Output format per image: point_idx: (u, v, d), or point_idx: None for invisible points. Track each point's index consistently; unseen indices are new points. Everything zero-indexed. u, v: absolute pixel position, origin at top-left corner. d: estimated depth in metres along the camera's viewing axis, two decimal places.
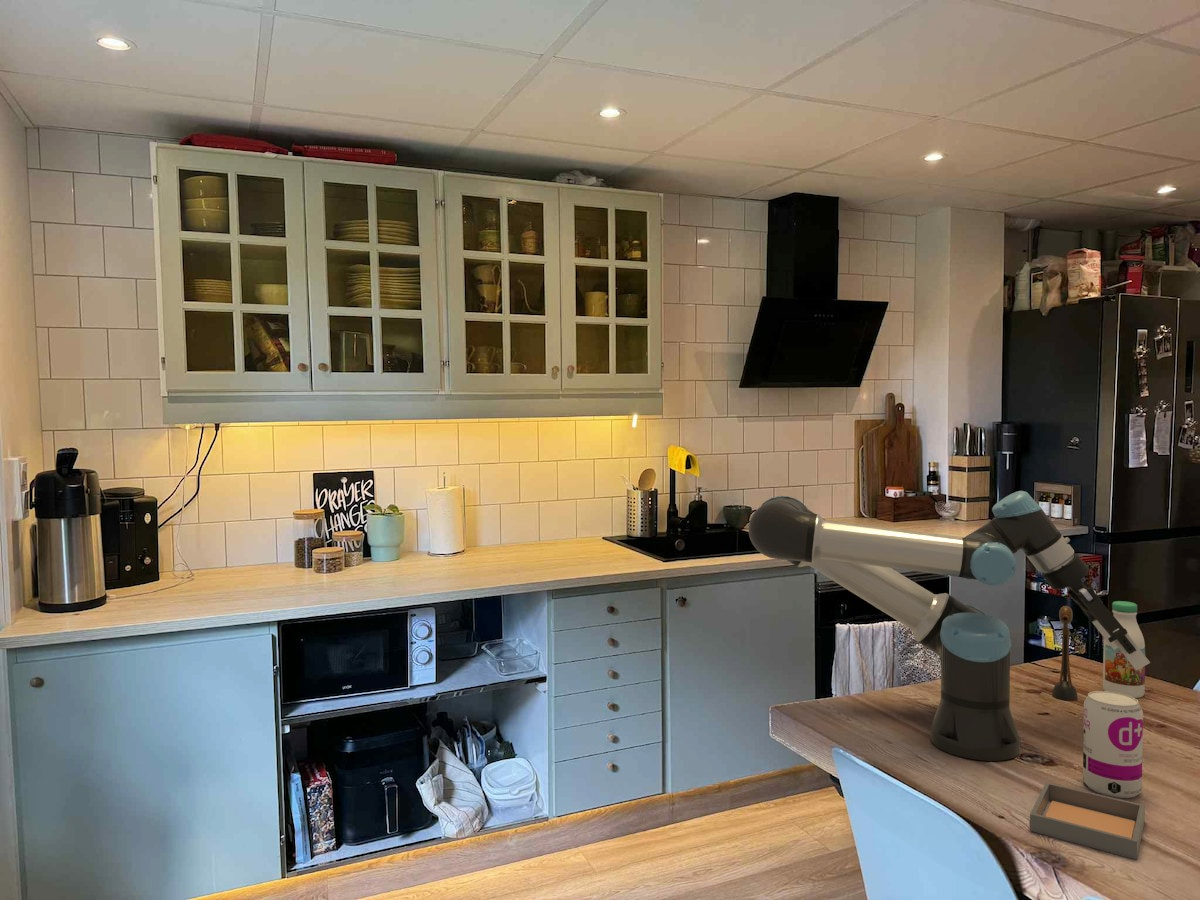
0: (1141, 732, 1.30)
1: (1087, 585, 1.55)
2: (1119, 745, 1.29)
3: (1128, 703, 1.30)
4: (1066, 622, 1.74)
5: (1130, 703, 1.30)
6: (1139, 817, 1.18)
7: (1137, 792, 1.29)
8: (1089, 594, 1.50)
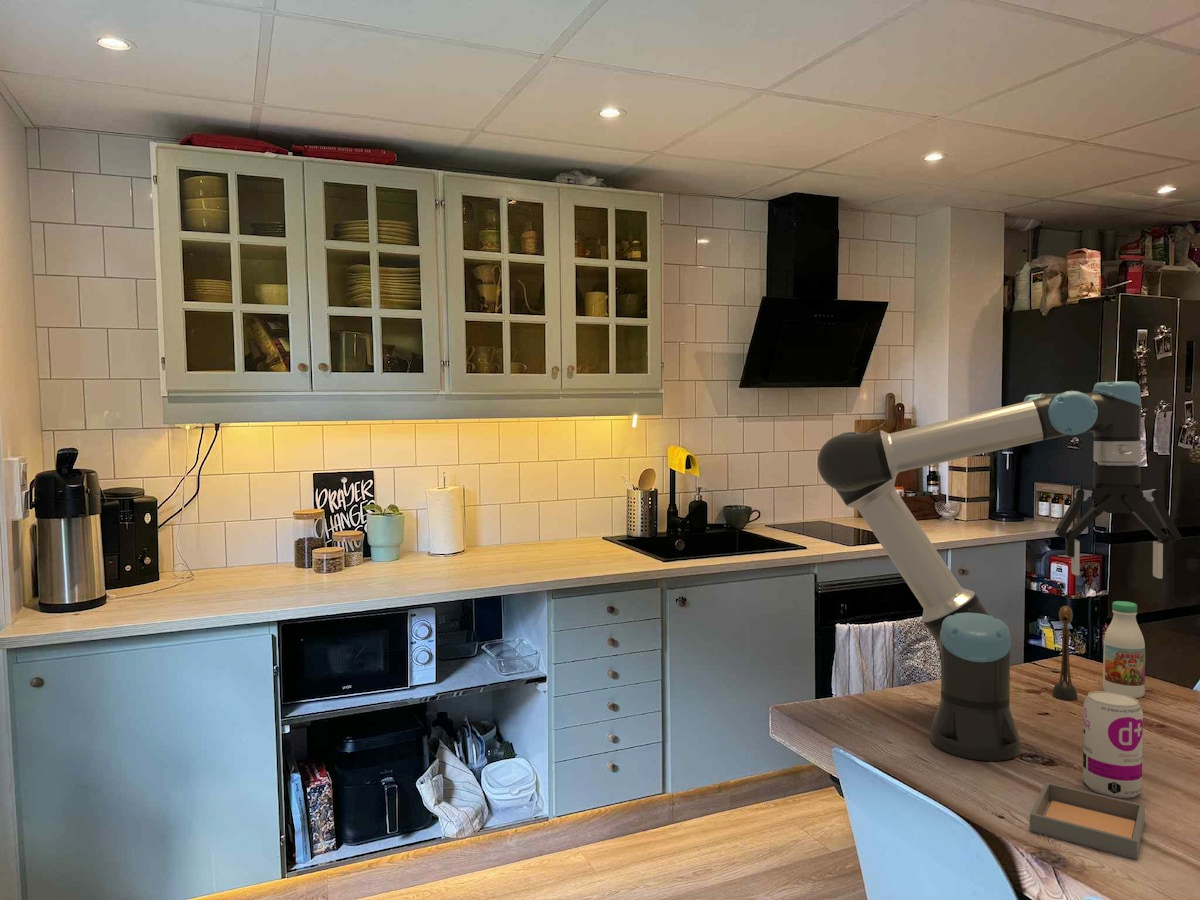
0: (1141, 732, 1.30)
1: (1110, 495, 1.52)
2: (1119, 745, 1.29)
3: (1128, 703, 1.30)
4: (1066, 622, 1.74)
5: (1130, 703, 1.30)
6: (1139, 817, 1.18)
7: (1137, 792, 1.29)
8: (1075, 494, 1.55)
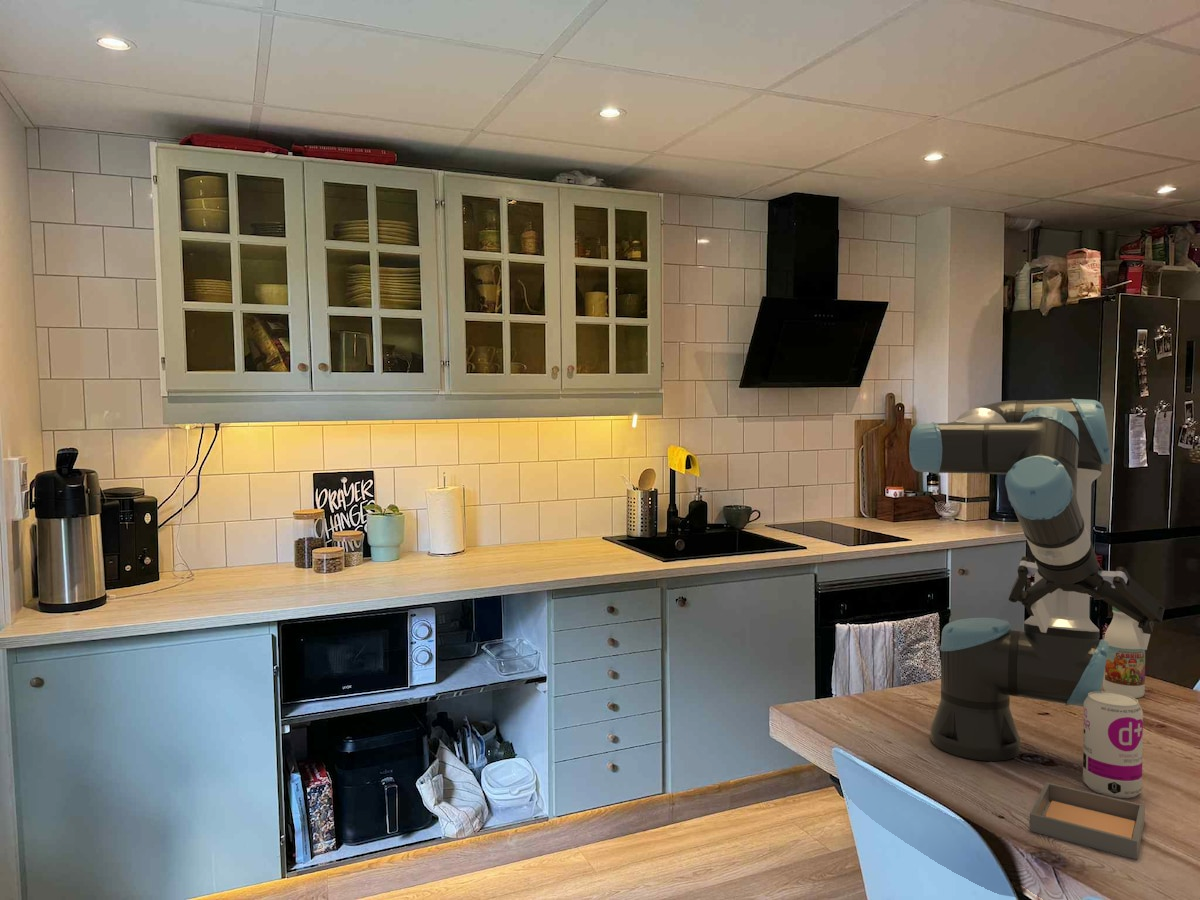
0: (1141, 732, 1.30)
1: None
2: (1119, 745, 1.29)
3: (1128, 703, 1.30)
4: None
5: (1130, 703, 1.30)
6: (1139, 817, 1.18)
7: (1137, 792, 1.29)
8: None
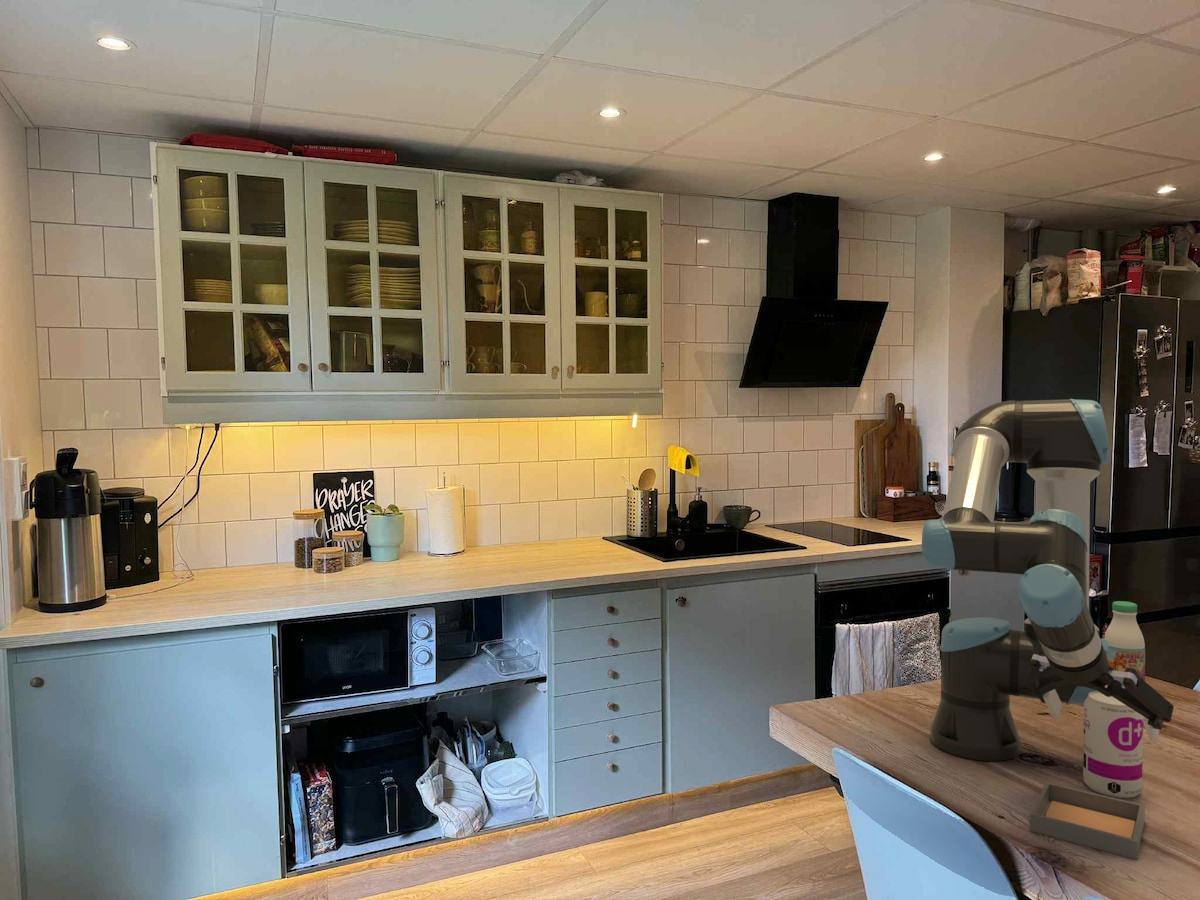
0: (1142, 732, 1.30)
1: None
2: (1119, 745, 1.29)
3: None
4: None
5: None
6: (1139, 817, 1.18)
7: (1137, 792, 1.29)
8: None
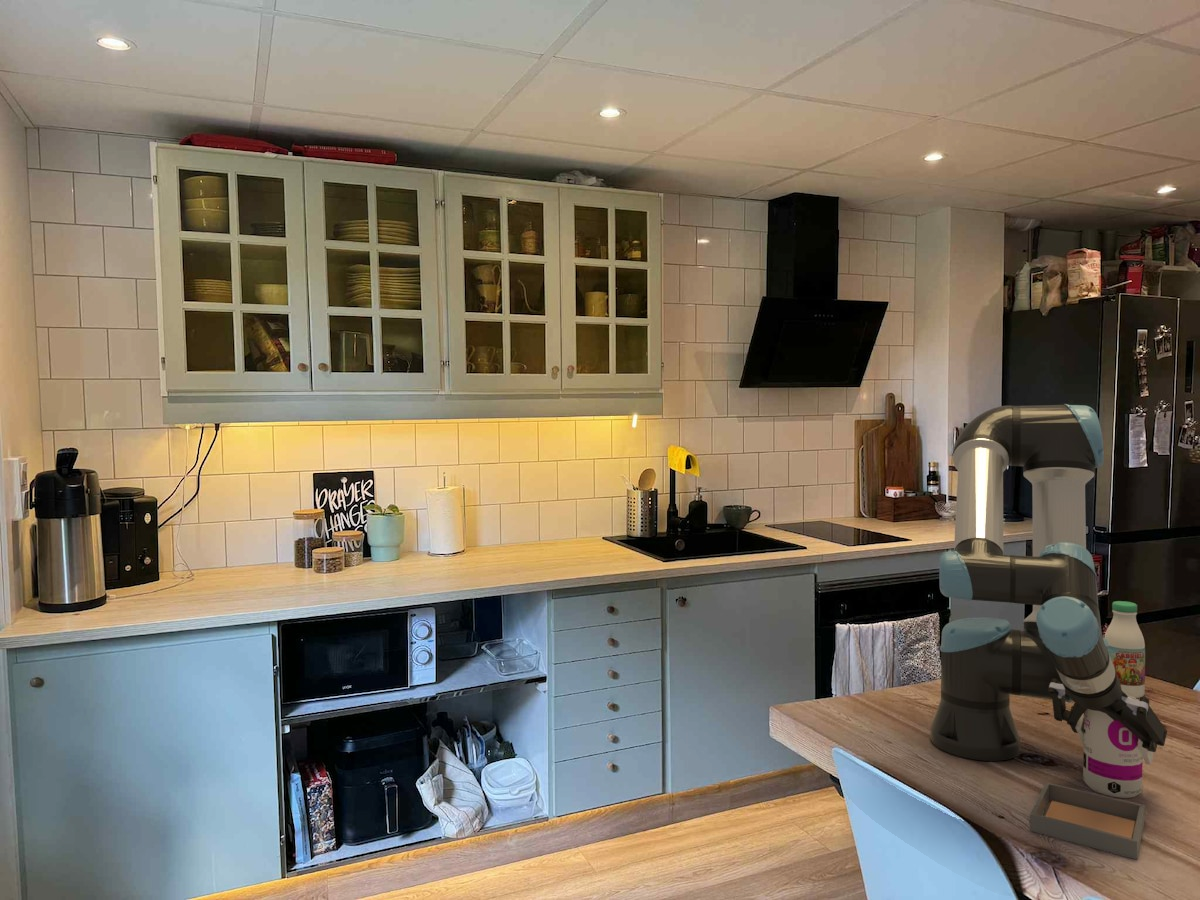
0: None
1: None
2: (1119, 745, 1.29)
3: None
4: None
5: None
6: (1139, 817, 1.18)
7: (1137, 792, 1.29)
8: None
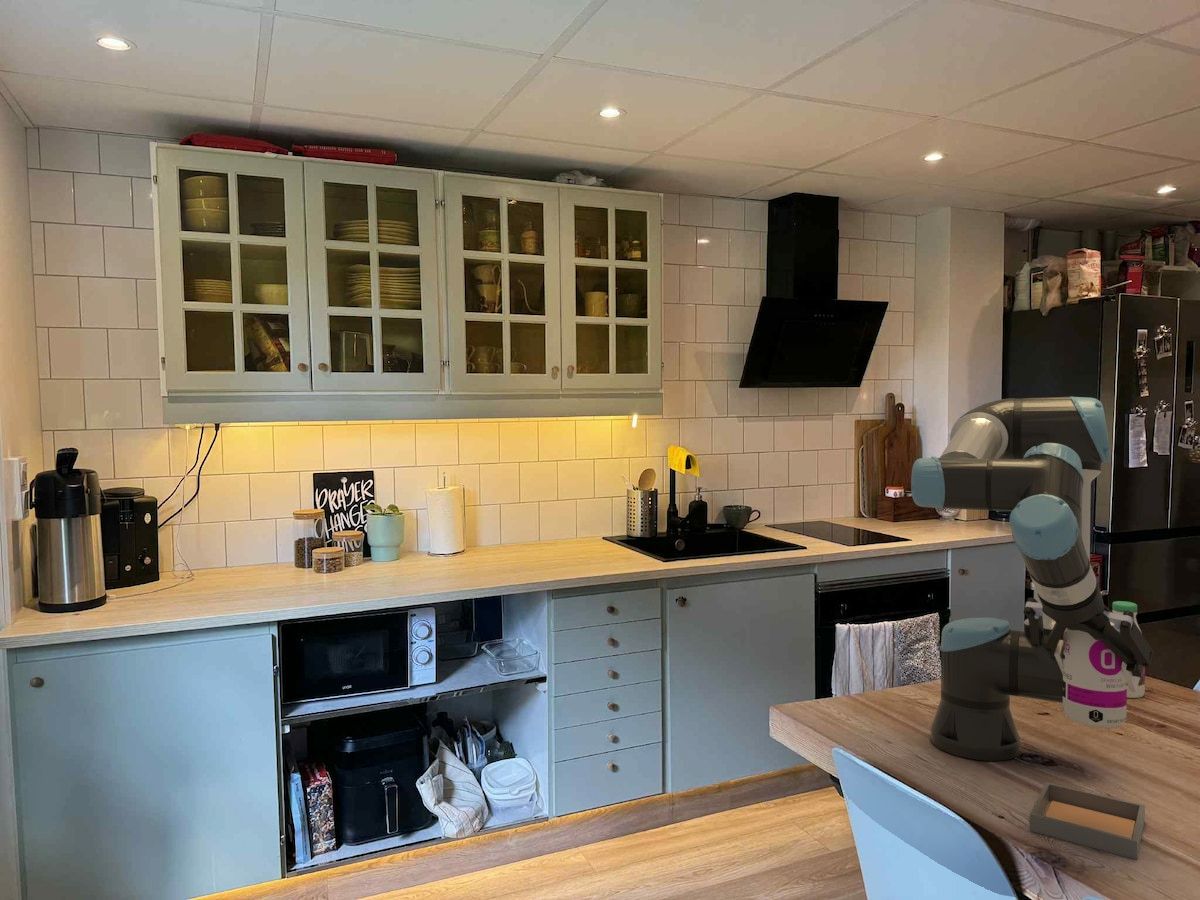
0: None
1: None
2: (1101, 669, 1.17)
3: (1111, 624, 1.19)
4: None
5: None
6: (1139, 817, 1.18)
7: (1121, 721, 1.18)
8: None
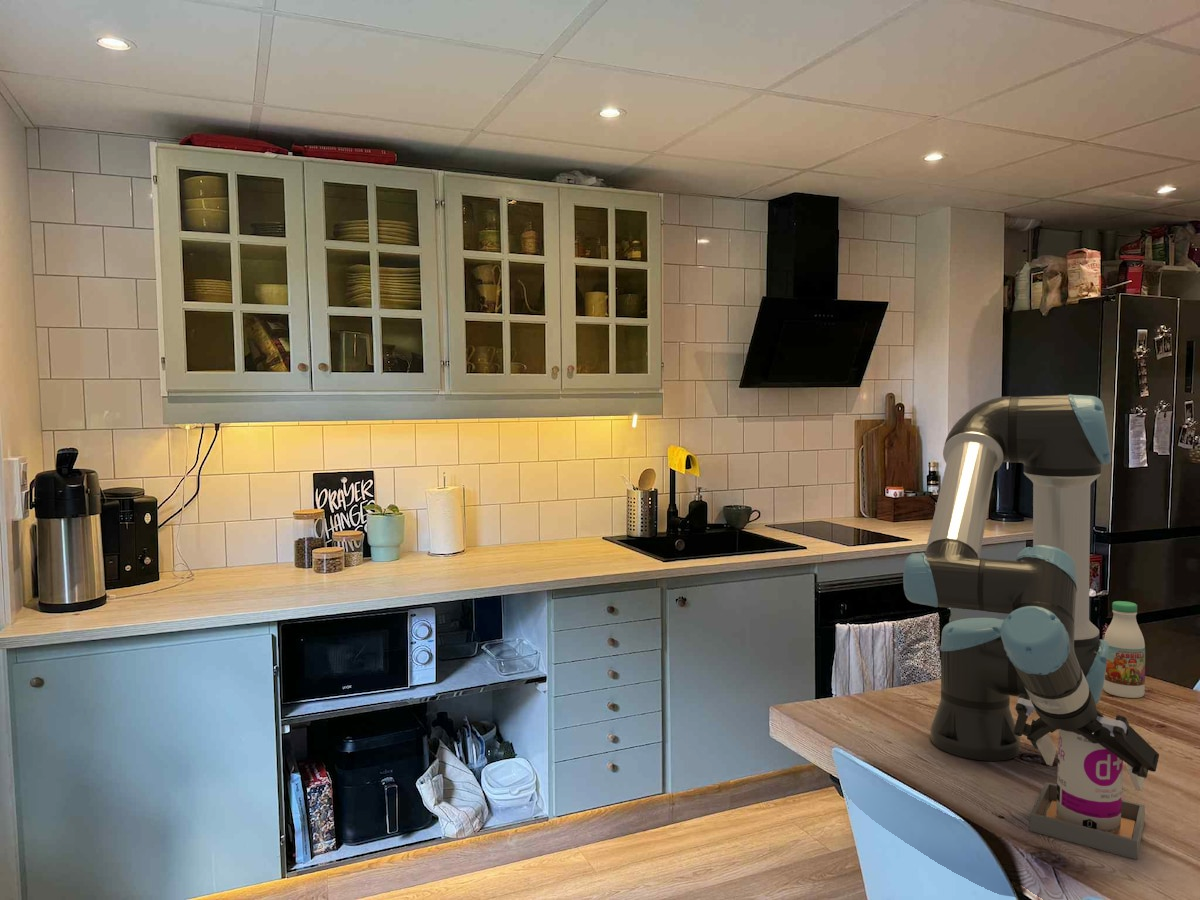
0: (1121, 764, 1.17)
1: None
2: (1096, 779, 1.16)
3: None
4: None
5: None
6: (1139, 817, 1.18)
7: (1115, 830, 1.17)
8: None
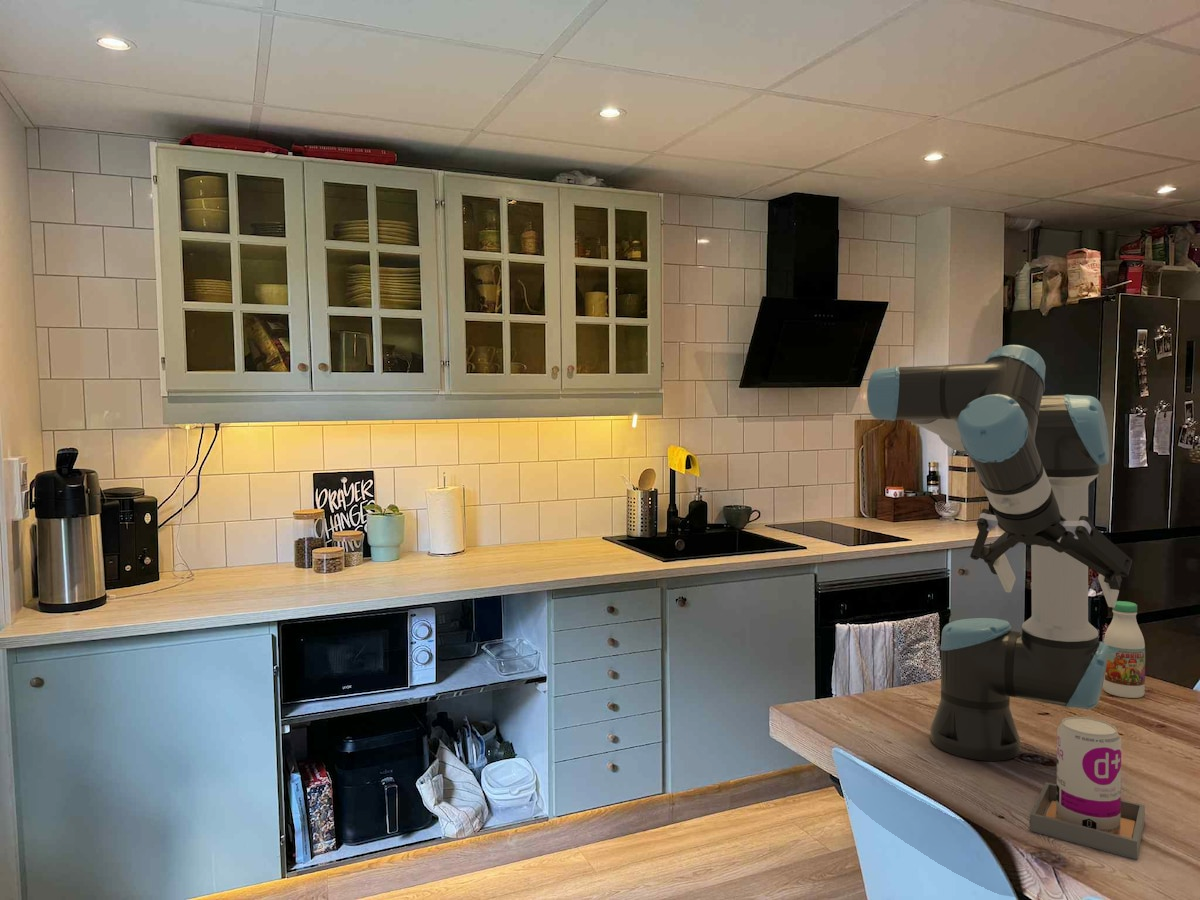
0: (1120, 763, 1.17)
1: None
2: (1095, 778, 1.17)
3: (1105, 731, 1.18)
4: None
5: (1108, 732, 1.18)
6: (1139, 817, 1.18)
7: (1115, 830, 1.17)
8: None
